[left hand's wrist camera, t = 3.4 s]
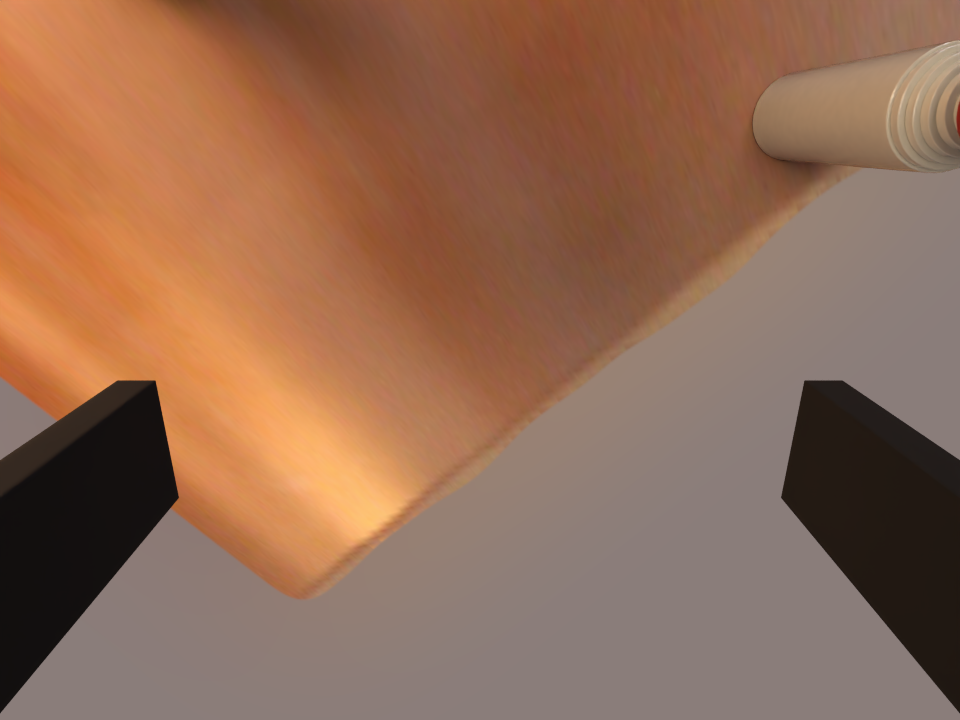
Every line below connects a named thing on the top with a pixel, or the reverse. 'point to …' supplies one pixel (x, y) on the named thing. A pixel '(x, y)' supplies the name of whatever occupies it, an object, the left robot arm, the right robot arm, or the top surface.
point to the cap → (958, 119)
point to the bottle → (868, 112)
